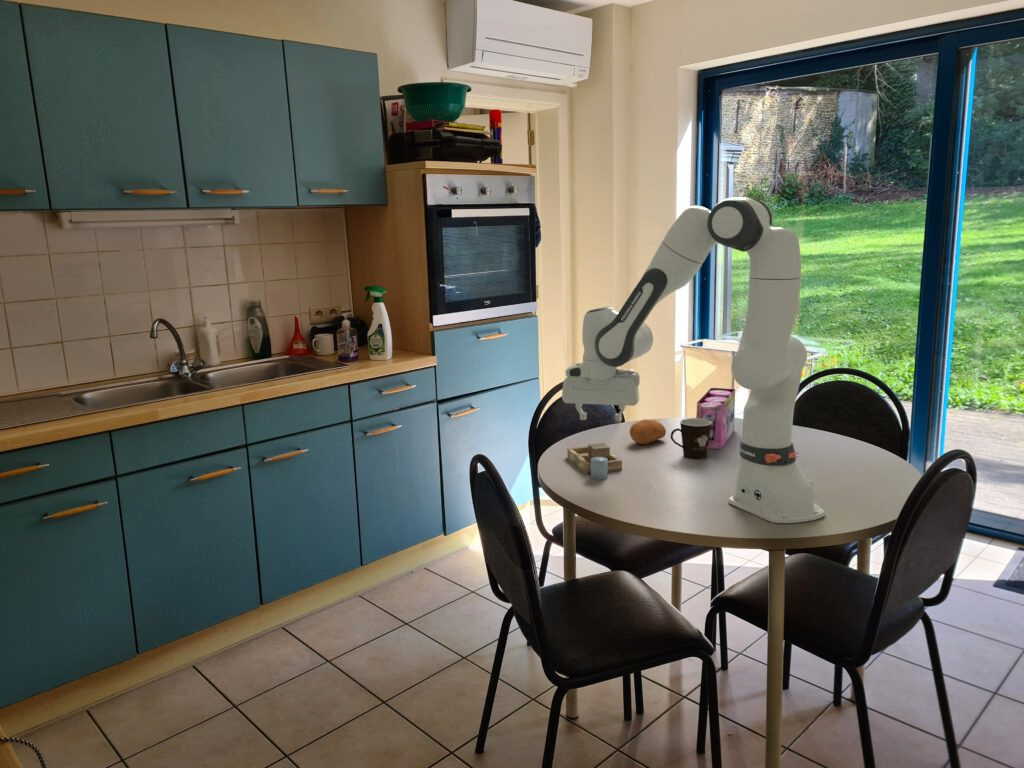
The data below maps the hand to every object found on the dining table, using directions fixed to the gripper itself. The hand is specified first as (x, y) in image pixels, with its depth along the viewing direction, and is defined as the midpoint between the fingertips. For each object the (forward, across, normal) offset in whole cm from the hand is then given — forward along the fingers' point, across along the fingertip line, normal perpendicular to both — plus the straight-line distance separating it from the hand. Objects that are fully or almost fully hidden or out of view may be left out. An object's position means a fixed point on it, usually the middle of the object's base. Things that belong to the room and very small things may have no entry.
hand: (600, 420), depth 205 cm
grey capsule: (+15, 0, +4) cm, 15 cm away
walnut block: (+13, +2, -4) cm, 14 cm away
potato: (+15, -7, -32) cm, 36 cm away
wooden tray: (+14, +4, -7) cm, 17 cm away
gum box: (+15, -26, -41) cm, 51 cm away
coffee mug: (+15, -21, -21) cm, 33 cm away
